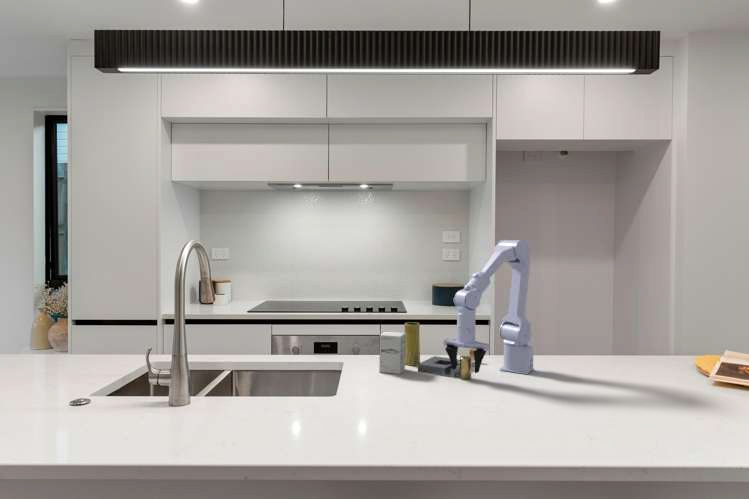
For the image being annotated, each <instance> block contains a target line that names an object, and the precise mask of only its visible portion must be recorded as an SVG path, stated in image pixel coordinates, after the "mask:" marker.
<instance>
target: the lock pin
mask: <svg viewBox="0 0 749 499" xmlns="http://www.w3.org/2000/svg"><path fill="white" fill-rule="evenodd" d="M475 350H476V349H472V348H470V349H469V356H471V357H472V362H475V358H474V351H475ZM458 365H460V361H459V362H458V363H457V366H458Z"/></svg>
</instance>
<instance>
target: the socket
mask: <svg viewBox="0 0 749 499" xmlns="http://www.w3.org/2000/svg"><path fill="white" fill-rule="evenodd" d="M459 361H460V359H457V363H458V362H459ZM417 372H418V373H425V374H430V375H431V374H433V375H438V376H444V377H449V378H456V377H457V376H460V365H458V366H457V368H456V369H452V365H451V361H450V358H449V357H441V356H438V355H437V356H435V355H434V356H432V357H430V358H427V359H426V360H425V359H424V360H423V361H422V362H421V361H420V363H419V364H418V365H417Z"/></svg>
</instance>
